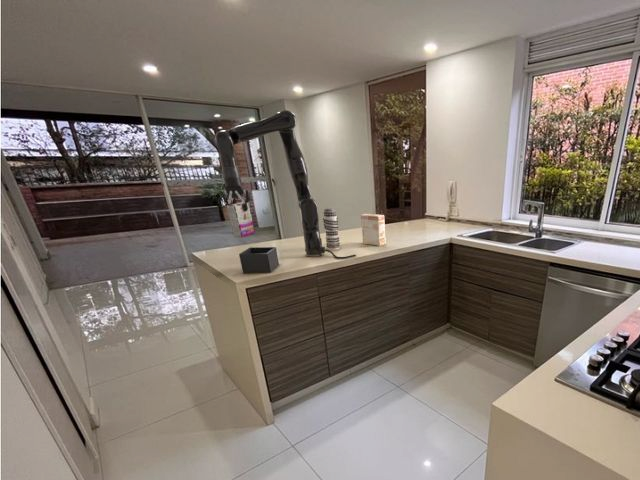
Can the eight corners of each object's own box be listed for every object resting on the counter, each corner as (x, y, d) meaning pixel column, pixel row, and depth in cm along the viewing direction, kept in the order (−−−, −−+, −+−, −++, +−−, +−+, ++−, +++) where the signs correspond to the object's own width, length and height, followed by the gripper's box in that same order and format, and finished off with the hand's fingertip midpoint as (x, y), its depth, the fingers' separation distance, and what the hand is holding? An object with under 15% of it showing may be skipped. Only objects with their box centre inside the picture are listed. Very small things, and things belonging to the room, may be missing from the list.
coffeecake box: (385, 244, 231) (384, 214, 223) (379, 246, 225) (378, 216, 217) (369, 241, 238) (367, 213, 230) (362, 243, 233) (360, 214, 225)
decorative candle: (330, 246, 225) (326, 207, 214) (343, 247, 222) (339, 207, 212) (323, 249, 217) (318, 209, 206) (336, 250, 214) (332, 209, 204)
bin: (279, 264, 184) (276, 246, 180) (271, 272, 171) (267, 253, 167) (253, 265, 183) (249, 247, 179) (243, 273, 170) (238, 254, 166)
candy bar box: (247, 233, 186) (241, 202, 179) (255, 233, 185) (249, 202, 178) (233, 237, 176) (225, 204, 169) (242, 237, 175) (234, 204, 168)
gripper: (249, 175, 172) (256, 210, 179) (220, 176, 171) (228, 210, 178) (243, 176, 165) (251, 212, 172) (213, 176, 164) (221, 212, 171)
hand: (239, 211), depth 175 cm, fingers closed on candy bar box, 5 cm apart
